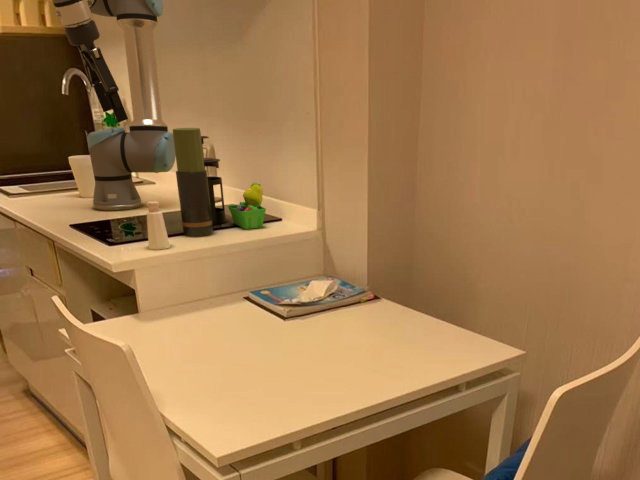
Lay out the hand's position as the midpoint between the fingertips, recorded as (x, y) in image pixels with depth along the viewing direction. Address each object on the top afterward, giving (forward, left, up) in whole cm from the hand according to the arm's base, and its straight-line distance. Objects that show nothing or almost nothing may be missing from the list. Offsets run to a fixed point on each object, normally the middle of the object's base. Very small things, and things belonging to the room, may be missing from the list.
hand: (115, 115), depth 181 cm
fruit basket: (+10, +31, -29) cm, 44 cm away
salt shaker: (+26, +2, -29) cm, 39 cm away
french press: (-1, +22, -29) cm, 37 cm away
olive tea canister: (+14, +15, -13) cm, 24 cm away
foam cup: (-68, -5, -29) cm, 74 cm away
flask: (+14, +15, -29) cm, 36 cm away
